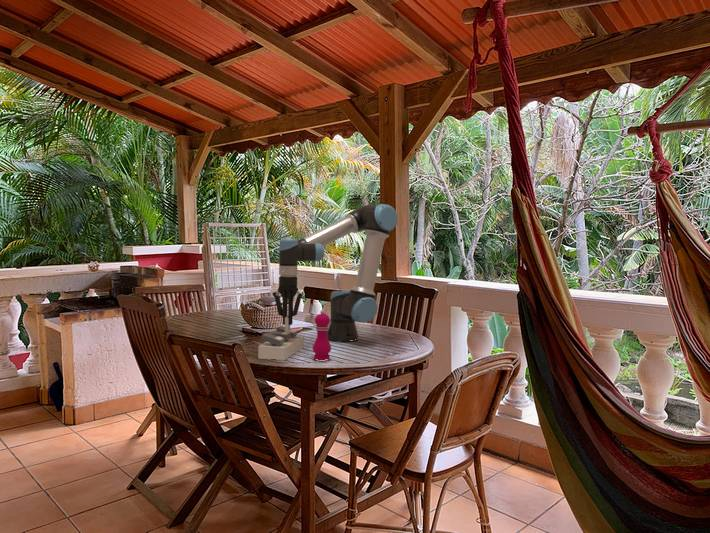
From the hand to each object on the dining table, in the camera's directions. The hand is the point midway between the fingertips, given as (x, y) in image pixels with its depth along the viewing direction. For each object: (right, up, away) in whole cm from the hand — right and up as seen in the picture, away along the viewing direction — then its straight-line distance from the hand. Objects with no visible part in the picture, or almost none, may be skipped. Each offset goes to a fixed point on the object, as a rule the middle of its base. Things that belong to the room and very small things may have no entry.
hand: (287, 332), depth 225 cm
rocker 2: (-3, -1, +1) cm, 4 cm away
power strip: (-2, -8, +4) cm, 10 cm away
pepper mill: (+15, -10, -9) cm, 20 cm away
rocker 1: (-5, -2, -7) cm, 9 cm away
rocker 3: (-1, -1, +9) cm, 9 cm away
